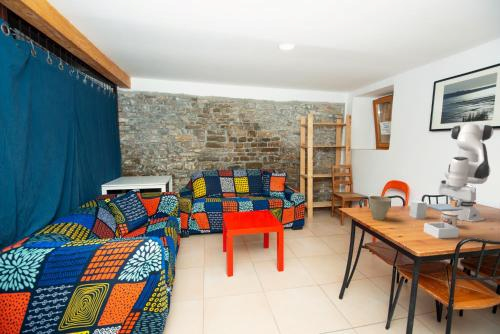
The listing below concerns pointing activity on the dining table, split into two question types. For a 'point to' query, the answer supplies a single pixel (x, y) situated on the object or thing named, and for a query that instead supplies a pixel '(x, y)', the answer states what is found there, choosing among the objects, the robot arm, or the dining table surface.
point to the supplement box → (418, 209)
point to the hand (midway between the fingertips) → (454, 204)
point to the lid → (445, 206)
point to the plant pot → (379, 206)
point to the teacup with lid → (450, 218)
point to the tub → (441, 230)
